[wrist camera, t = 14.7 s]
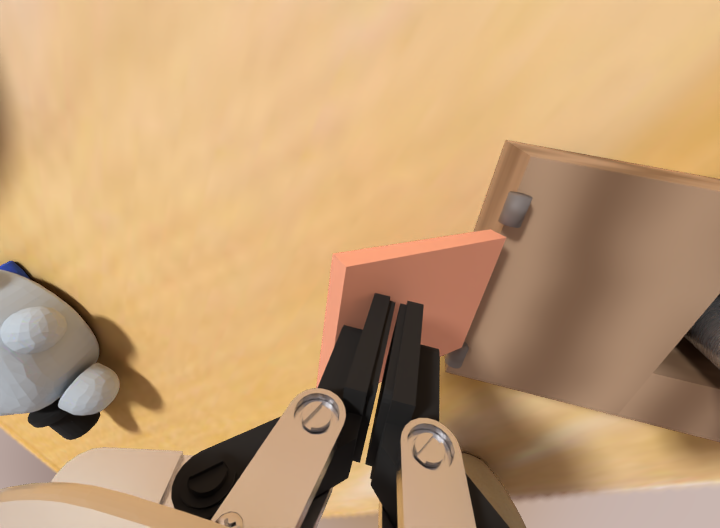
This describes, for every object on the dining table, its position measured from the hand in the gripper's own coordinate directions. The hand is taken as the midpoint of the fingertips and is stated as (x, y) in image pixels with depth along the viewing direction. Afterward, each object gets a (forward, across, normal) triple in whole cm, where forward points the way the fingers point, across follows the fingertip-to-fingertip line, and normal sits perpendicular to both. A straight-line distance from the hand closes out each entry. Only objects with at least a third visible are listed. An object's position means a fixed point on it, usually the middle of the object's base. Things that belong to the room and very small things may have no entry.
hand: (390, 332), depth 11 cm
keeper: (+2, 0, 0) cm, 2 cm away
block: (+11, -12, +1) cm, 16 cm away
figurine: (+10, +32, +19) cm, 39 cm away
